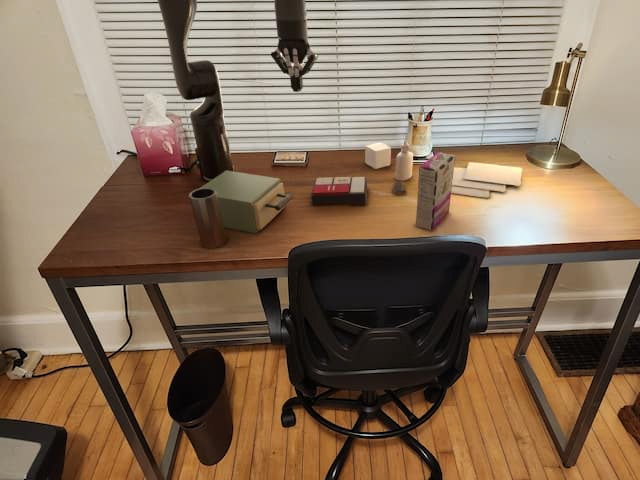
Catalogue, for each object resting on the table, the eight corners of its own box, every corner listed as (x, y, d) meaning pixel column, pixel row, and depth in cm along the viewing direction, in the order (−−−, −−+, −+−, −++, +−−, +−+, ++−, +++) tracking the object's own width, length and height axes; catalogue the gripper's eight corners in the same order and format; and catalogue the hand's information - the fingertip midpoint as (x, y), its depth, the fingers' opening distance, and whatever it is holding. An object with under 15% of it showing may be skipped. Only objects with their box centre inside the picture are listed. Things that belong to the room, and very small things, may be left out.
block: (404, 186, 131) (404, 180, 130) (405, 195, 126) (406, 189, 125) (392, 186, 131) (392, 180, 130) (393, 195, 126) (393, 189, 125)
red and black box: (315, 176, 128) (366, 174, 127) (317, 189, 131) (367, 188, 130) (310, 193, 120) (365, 191, 118) (312, 207, 122) (365, 205, 121)
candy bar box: (432, 208, 119) (438, 150, 110) (449, 213, 117) (456, 154, 108) (413, 226, 112) (418, 165, 102) (431, 231, 110) (438, 170, 100)
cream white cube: (390, 165, 144) (391, 147, 141) (375, 169, 142) (375, 151, 138) (379, 159, 148) (380, 142, 145) (365, 163, 146) (365, 145, 142)
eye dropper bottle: (392, 176, 137) (394, 138, 130) (410, 174, 138) (412, 137, 131) (396, 181, 134) (398, 143, 127) (414, 180, 135) (417, 141, 128)
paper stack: (518, 202, 122) (519, 199, 122) (430, 190, 129) (430, 188, 128) (521, 170, 140) (521, 168, 140) (443, 160, 146) (443, 158, 146)
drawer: (299, 208, 118) (297, 185, 114) (275, 232, 108) (272, 208, 104) (237, 197, 124) (232, 175, 120) (208, 219, 113) (202, 196, 109)
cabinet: (283, 207, 121) (279, 178, 116) (256, 233, 110) (250, 202, 104) (231, 198, 125) (226, 170, 120) (200, 222, 114) (192, 192, 109)
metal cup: (196, 245, 105) (183, 196, 97) (211, 234, 109) (199, 186, 102) (217, 250, 103) (205, 200, 96) (230, 238, 108) (220, 189, 100)
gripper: (259, 17, 106) (268, 92, 116) (309, 19, 102) (314, 96, 112) (274, 14, 111) (282, 86, 122) (322, 16, 108) (325, 89, 118)
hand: (297, 91), depth 117 cm, fingers closed
